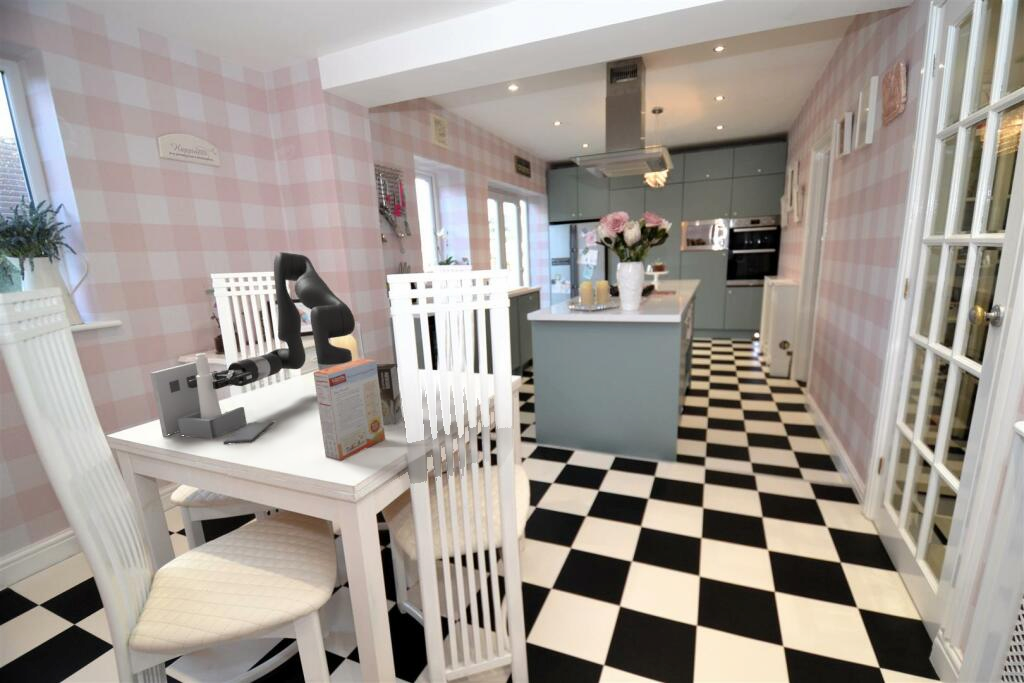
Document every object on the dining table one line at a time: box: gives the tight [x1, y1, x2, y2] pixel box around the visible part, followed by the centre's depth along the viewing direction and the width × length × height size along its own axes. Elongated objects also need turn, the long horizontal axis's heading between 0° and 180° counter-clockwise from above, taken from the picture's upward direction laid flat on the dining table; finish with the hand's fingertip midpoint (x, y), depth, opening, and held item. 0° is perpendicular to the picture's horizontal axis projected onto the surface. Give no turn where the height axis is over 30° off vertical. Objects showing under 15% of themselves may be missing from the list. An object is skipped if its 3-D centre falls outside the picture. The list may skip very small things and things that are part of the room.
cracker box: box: [313, 358, 386, 461], centre depth 108 cm, size 14×6×21 cm, turn 149°
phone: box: [223, 420, 275, 445], centre depth 124 cm, size 7×14×1 cm, turn 6°
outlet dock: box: [150, 361, 248, 439], centre depth 127 cm, size 17×14×18 cm
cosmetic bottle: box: [194, 352, 223, 419], centre depth 125 cm, size 6×6×22 cm
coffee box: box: [376, 363, 403, 426], centre depth 126 cm, size 9×6×16 cm
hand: (201, 385), depth 124 cm, fingers open, 8 cm apart
